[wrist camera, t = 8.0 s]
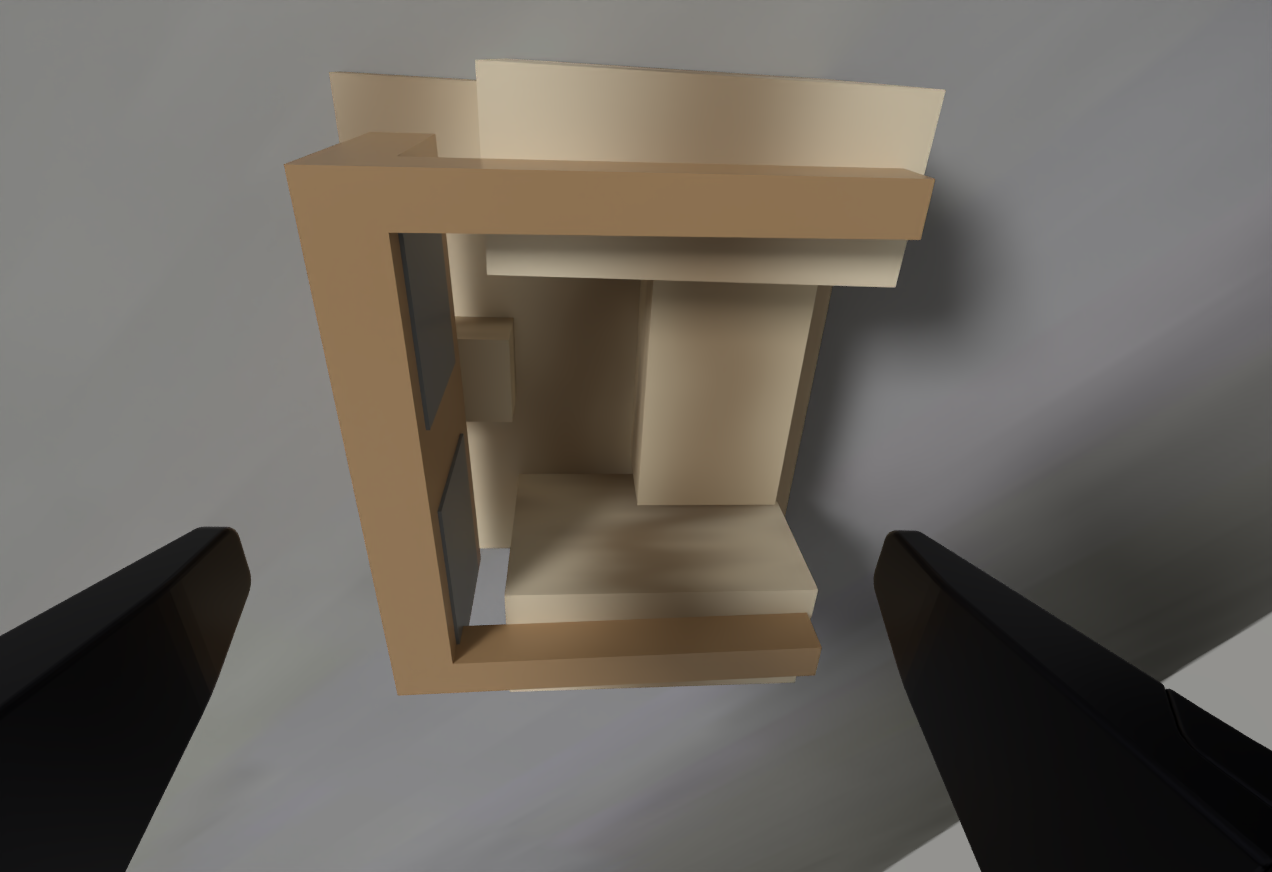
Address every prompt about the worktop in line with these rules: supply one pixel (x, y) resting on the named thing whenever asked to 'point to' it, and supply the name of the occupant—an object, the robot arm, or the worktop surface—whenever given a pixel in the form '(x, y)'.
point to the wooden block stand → (645, 333)
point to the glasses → (433, 394)
